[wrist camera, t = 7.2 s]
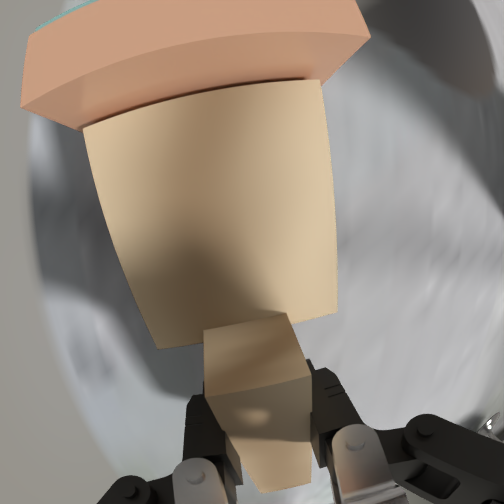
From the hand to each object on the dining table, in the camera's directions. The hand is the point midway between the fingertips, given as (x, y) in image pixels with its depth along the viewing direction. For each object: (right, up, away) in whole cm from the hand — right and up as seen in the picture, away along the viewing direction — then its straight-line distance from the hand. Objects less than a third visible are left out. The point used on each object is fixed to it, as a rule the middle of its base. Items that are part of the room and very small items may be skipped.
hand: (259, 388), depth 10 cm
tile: (-2, +10, -2) cm, 11 cm away
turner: (0, +3, 0) cm, 3 cm away
